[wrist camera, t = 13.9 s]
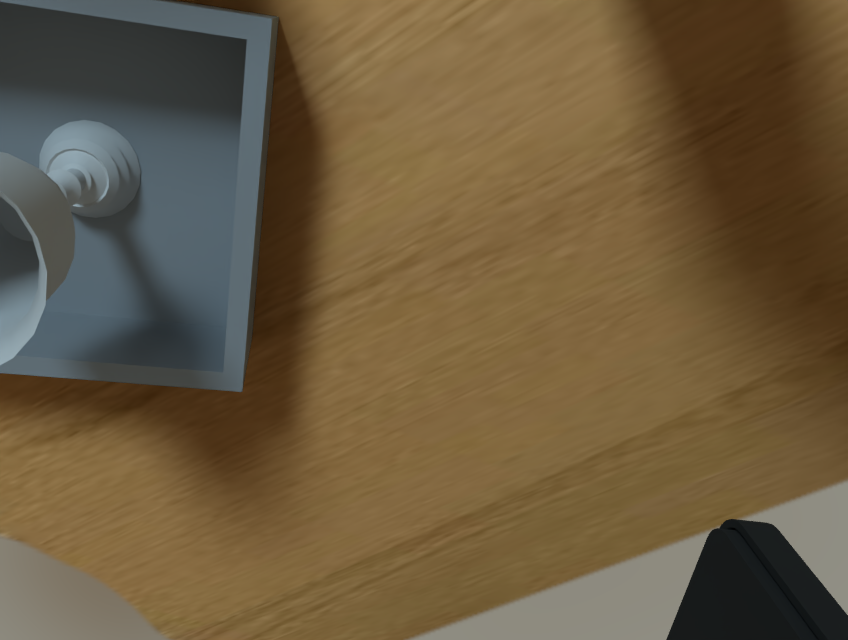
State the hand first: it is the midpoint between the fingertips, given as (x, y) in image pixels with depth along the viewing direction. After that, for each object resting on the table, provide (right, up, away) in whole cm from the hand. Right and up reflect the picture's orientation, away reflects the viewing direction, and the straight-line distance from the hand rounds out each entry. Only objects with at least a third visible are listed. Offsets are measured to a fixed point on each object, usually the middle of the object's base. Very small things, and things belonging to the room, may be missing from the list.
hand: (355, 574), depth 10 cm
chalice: (-17, +11, +31) cm, 37 cm away
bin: (-17, +11, +32) cm, 38 cm away
